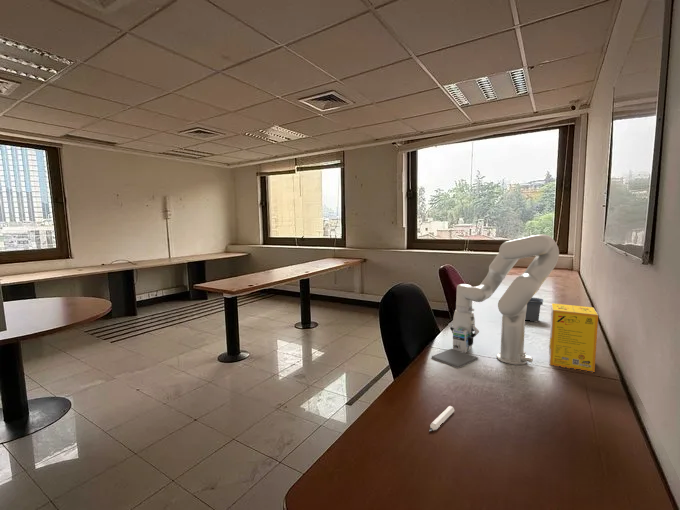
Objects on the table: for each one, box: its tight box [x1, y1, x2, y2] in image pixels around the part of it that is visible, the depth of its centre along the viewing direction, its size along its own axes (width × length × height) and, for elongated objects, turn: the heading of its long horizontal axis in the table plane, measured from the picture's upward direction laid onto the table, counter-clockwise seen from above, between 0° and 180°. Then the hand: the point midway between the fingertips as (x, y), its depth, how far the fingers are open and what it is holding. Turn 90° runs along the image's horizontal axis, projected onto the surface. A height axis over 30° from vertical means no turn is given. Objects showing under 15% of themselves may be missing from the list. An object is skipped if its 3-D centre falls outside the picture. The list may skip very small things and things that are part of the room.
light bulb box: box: [452, 328, 473, 354], centre depth 171 cm, size 11×7×11 cm, turn 142°
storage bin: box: [525, 297, 544, 322], centre depth 227 cm, size 21×16×14 cm
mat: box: [431, 348, 479, 369], centre depth 158 cm, size 14×16×1 cm
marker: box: [429, 405, 455, 432], centre depth 107 cm, size 3×2×16 cm
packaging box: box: [548, 303, 599, 373], centre depth 153 cm, size 16×16×25 cm
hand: (462, 342), depth 171 cm, fingers closed on light bulb box, 7 cm apart
